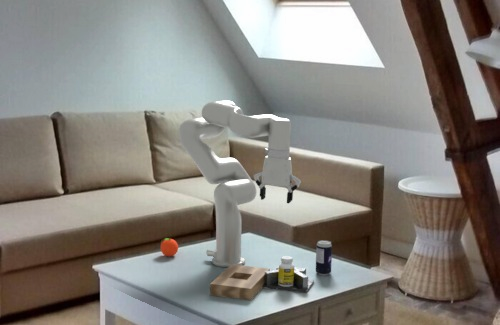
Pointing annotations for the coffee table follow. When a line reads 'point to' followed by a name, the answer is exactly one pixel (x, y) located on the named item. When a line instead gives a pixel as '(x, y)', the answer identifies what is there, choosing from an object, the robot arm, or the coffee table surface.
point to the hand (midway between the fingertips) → (275, 200)
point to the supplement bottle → (286, 272)
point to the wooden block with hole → (239, 282)
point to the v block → (300, 280)
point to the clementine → (169, 247)
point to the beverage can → (323, 257)
